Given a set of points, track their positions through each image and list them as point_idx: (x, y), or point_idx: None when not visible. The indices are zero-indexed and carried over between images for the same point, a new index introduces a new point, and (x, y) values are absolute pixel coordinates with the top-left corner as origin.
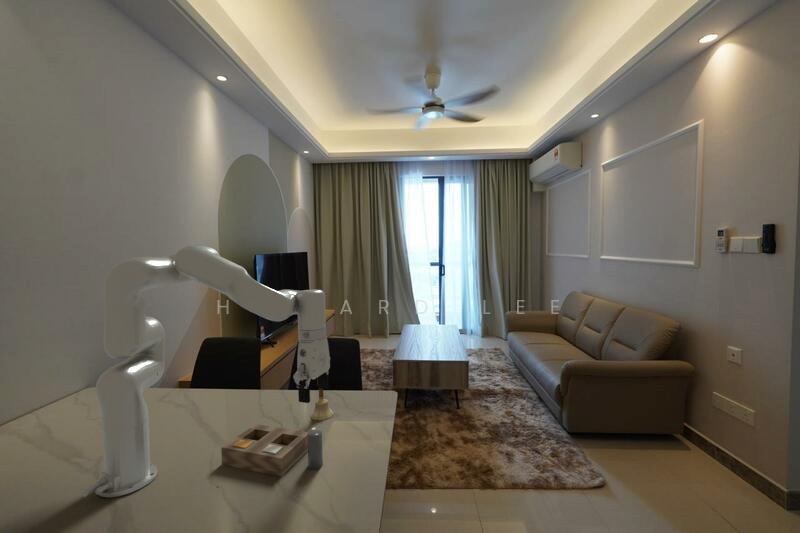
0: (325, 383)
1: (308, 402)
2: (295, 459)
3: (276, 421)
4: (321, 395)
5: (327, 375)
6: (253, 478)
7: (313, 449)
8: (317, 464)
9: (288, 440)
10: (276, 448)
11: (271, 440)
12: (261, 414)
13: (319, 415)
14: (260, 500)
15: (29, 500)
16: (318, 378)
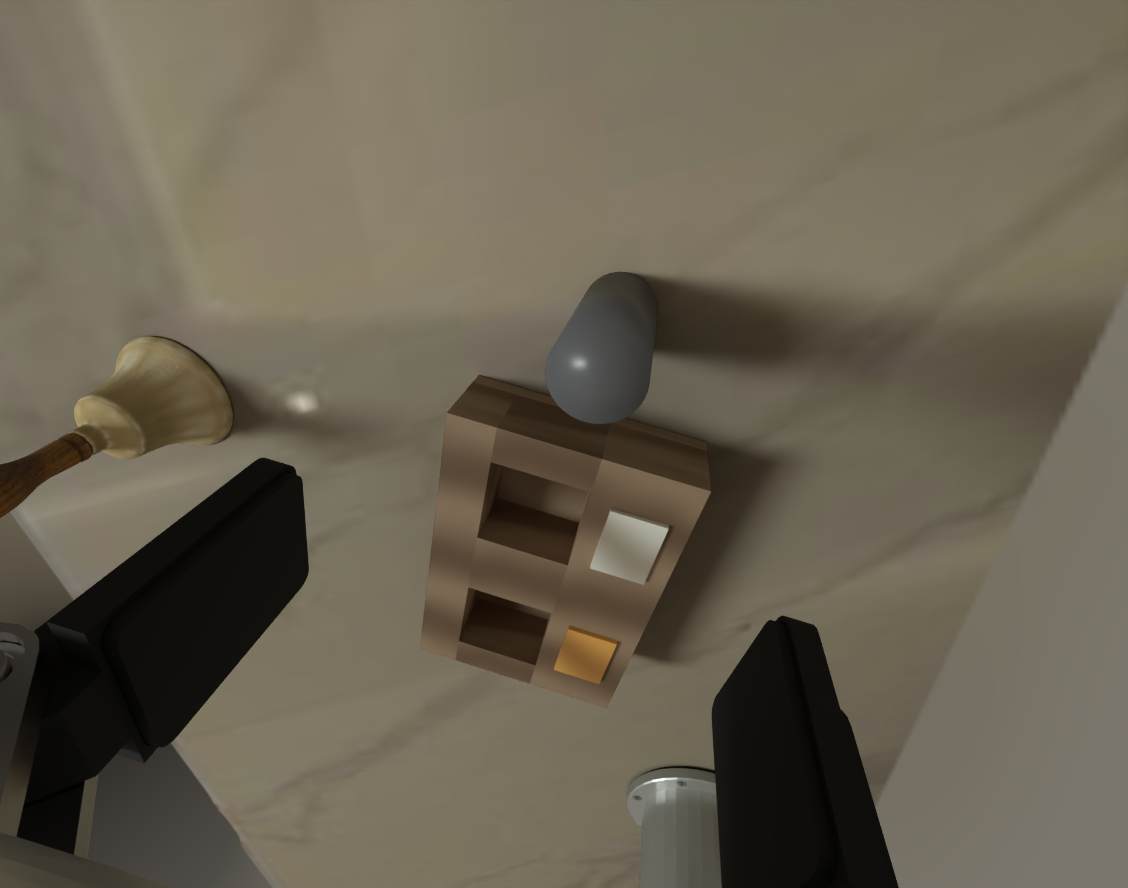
0: (239, 543)
1: (807, 629)
2: None
3: None
4: (75, 447)
5: (65, 628)
6: (707, 539)
7: (653, 345)
8: (651, 297)
9: (491, 492)
10: (625, 533)
11: (544, 566)
12: (276, 620)
13: (201, 405)
14: (866, 478)
15: None
16: (200, 693)
